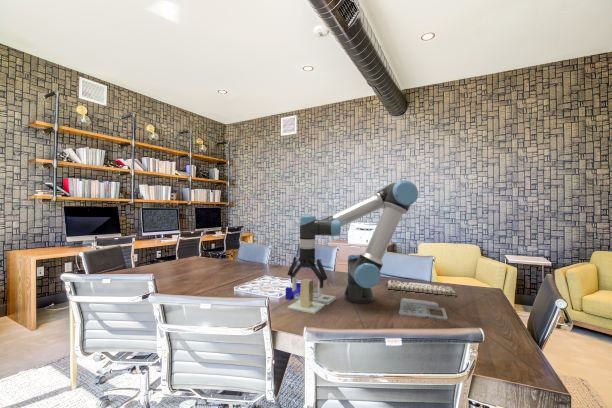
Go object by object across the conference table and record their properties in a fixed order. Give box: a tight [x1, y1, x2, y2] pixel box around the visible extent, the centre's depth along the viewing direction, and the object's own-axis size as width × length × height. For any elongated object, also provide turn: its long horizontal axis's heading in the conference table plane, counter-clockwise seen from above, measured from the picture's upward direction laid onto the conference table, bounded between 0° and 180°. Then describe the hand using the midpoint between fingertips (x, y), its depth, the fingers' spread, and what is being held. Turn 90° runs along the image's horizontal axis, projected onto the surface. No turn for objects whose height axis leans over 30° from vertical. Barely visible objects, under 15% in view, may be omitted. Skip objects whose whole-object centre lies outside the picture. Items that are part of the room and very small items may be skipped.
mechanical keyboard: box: [385, 279, 457, 297], centre depth 168 cm, size 38×19×3 cm, turn 74°
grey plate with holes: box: [292, 292, 337, 306], centre depth 147 cm, size 20×10×2 cm, turn 63°
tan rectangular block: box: [300, 278, 314, 308], centre depth 135 cm, size 4×4×12 cm
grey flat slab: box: [398, 298, 448, 321], centre depth 135 cm, size 23×3×20 cm
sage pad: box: [286, 299, 326, 315], centre depth 135 cm, size 14×12×1 cm
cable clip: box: [285, 282, 301, 301], centre depth 152 cm, size 12×4×6 cm, turn 153°
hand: (306, 292), depth 135 cm, fingers open, 13 cm apart
